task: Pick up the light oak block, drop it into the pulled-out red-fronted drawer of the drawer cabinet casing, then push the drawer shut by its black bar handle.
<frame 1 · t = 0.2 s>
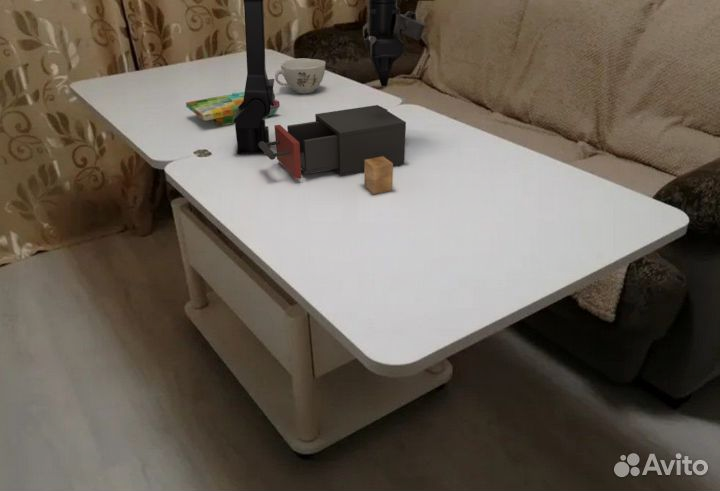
hand: (381, 80, 126), 15 cm above the table, tool pointing down, fingers open, 9 cm apart
teacup: (300, 92, 170), on the table
oak block: (378, 188, 114), on the table
puzzle game: (234, 117, 150), on the table
red-fronted drawer: (306, 148, 119), point 5 cm above the table, slide at 8.0 cm
drawer cabinet casing: (359, 159, 126), on the table
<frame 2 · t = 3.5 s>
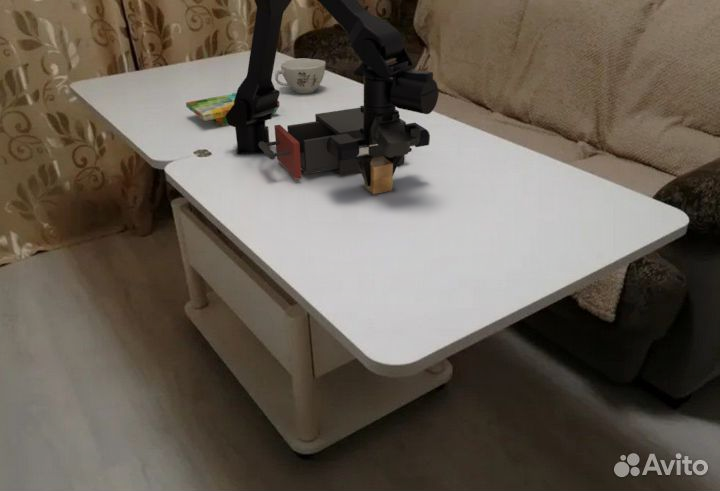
hand: (378, 183, 113), 1 cm above the table, tool pointing down, fingers closed on oak block, 4 cm apart
oak block: (378, 188, 114), on the table, touching gripper
everything else where it was.
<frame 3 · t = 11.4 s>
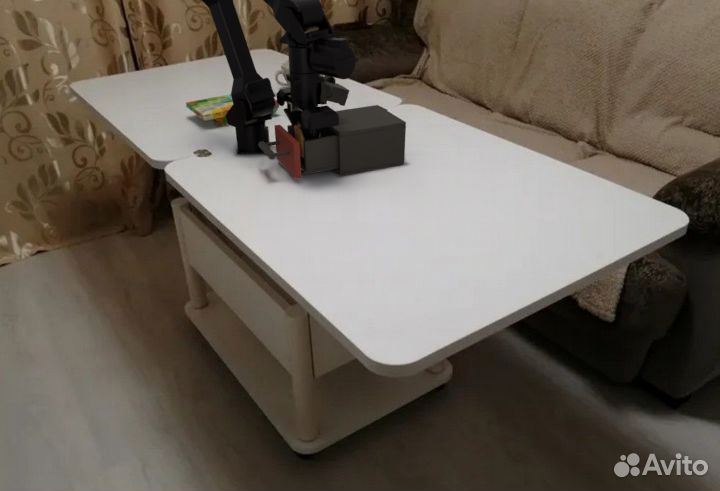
hand: (308, 148, 120), 4 cm above the table, tool pointing down, fingers closed on oak block, 4 cm apart
oak block: (308, 152, 120), point 3 cm above the table, touching gripper
red-fronted drawer: (306, 148, 119), point 5 cm above the table, slide at 8.0 cm, touching gripper
everything else where it was.
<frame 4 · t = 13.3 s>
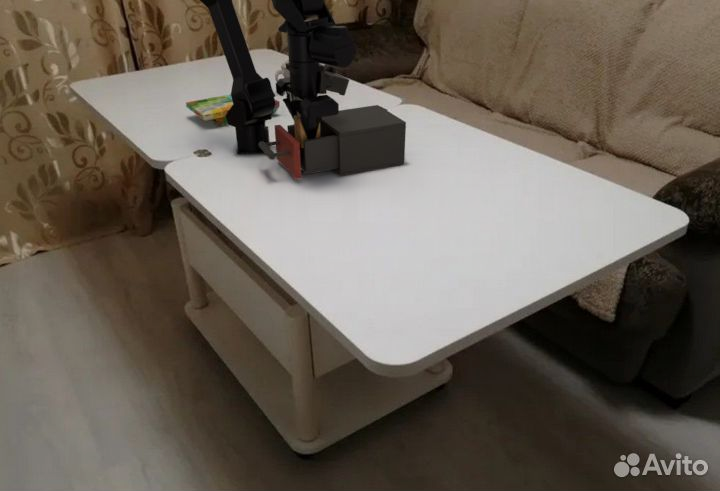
hand: (307, 138, 119), 6 cm above the table, tool pointing down, fingers closed on oak block, 4 cm apart
oak block: (307, 143, 119), point 5 cm above the table, touching gripper
red-fronted drawer: (306, 148, 119), point 5 cm above the table, slide at 8.0 cm
everything else where it was.
when the fingers open (8 cm above the table, at t = 22.9 s): oak block drops 5 cm, resting on red-fronted drawer.
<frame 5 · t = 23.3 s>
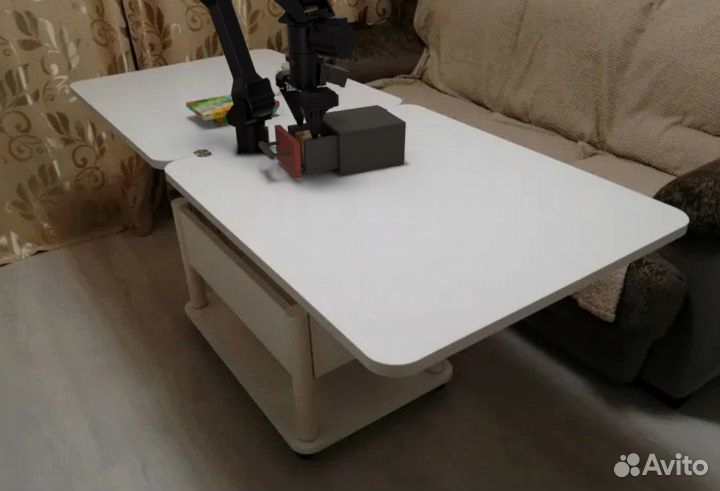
hand: (307, 131, 118), 8 cm above the table, tool pointing down, fingers open, 8 cm apart
oak block: (309, 159, 121), point 2 cm above the table, touching red-fronted drawer
red-fronted drawer: (306, 148, 119), point 5 cm above the table, slide at 8.0 cm, touching gripper, oak block
everything else where it was.
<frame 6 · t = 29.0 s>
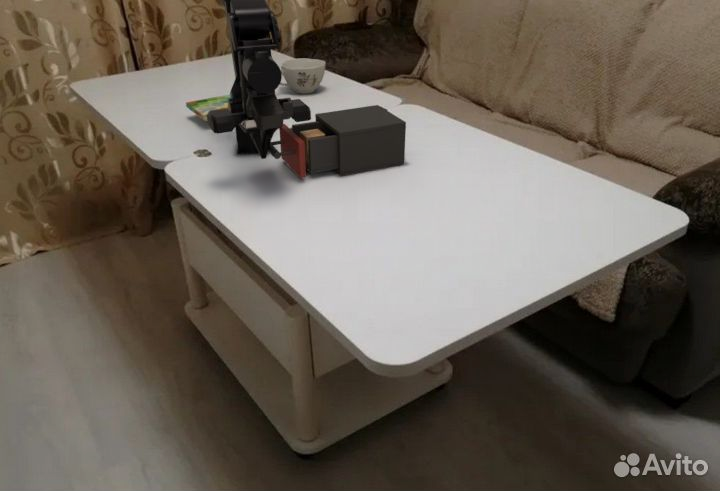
hand: (263, 158, 116), 4 cm above the table, tool pointing down, fingers closed
red-fronted drawer: (311, 147, 120), point 5 cm above the table, slide at 7.0 cm, touching gripper, oak block
everything else where it was.
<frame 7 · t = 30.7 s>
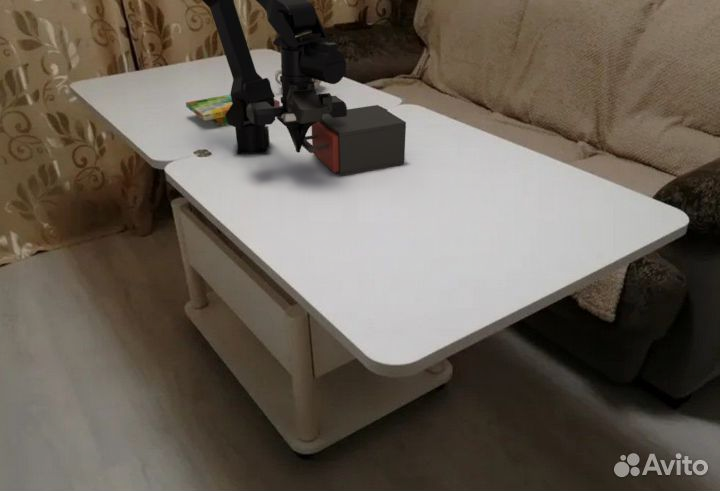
hand: (298, 152, 119), 4 cm above the table, tool pointing down, fingers closed
oak block: (344, 153, 124), point 2 cm above the table, touching red-fronted drawer
red-fronted drawer: (342, 141, 122), point 5 cm above the table, slide at 0.0 cm, touching drawer cabinet casing, gripper, oak block
everything else where it was.
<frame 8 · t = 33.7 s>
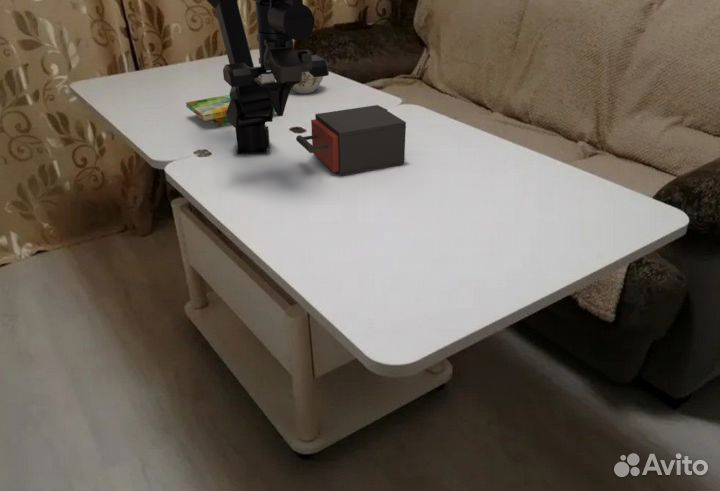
hand: (279, 115, 114), 12 cm above the table, tool pointing down, fingers closed
red-fronted drawer: (342, 141, 122), point 5 cm above the table, slide at 0.0 cm, touching oak block
everything else where it was.
at the end: red-fronted drawer slide at 0.0 cm; oak block inside the target area in the drawer cabinet casing (2.4 cm from its centre), point 2.0 cm above the drawer cabinet casing's base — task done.
